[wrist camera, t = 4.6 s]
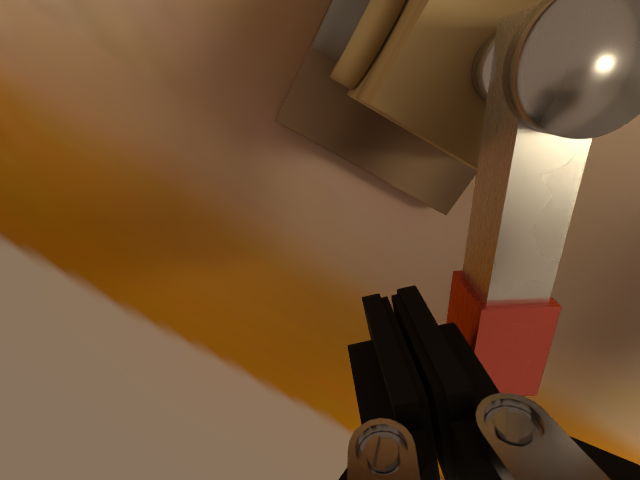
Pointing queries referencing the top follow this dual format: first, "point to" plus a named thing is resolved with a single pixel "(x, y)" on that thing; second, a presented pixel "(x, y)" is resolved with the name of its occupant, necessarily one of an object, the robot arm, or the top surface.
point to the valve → (399, 90)
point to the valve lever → (537, 169)
